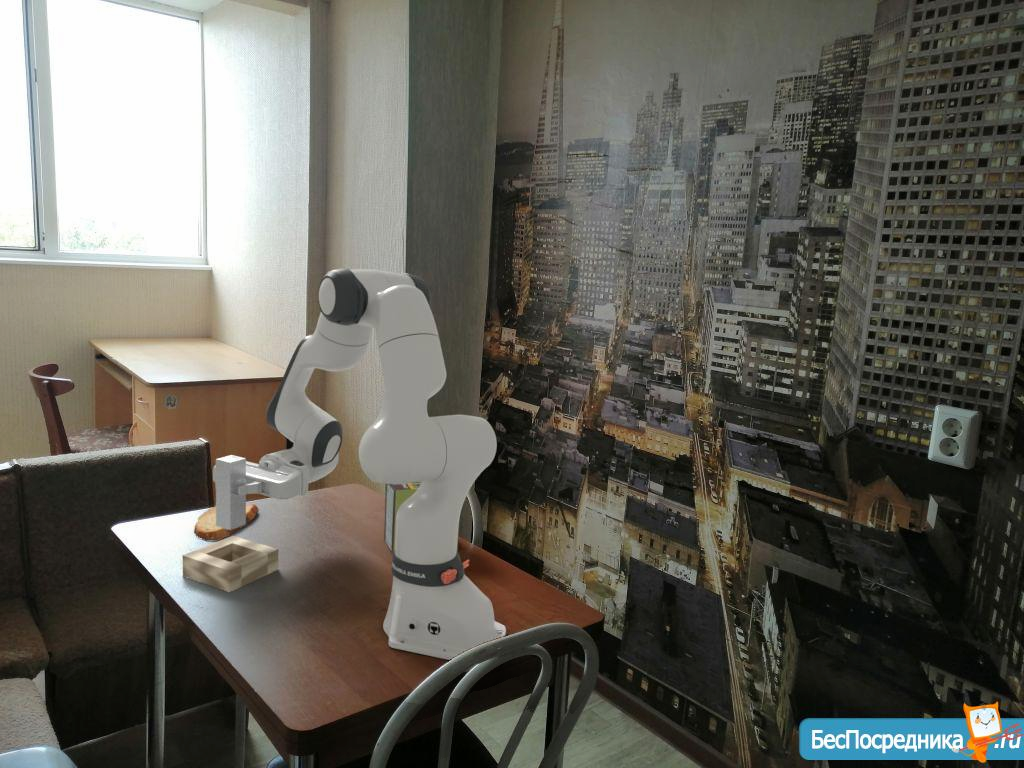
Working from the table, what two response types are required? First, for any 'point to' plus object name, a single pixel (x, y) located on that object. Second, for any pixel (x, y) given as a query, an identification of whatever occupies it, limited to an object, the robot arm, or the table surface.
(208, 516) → the bread slice
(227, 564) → the well block
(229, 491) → the steel post
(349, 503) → the table surface
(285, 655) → the table surface
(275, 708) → the table surface
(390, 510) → the protein box
